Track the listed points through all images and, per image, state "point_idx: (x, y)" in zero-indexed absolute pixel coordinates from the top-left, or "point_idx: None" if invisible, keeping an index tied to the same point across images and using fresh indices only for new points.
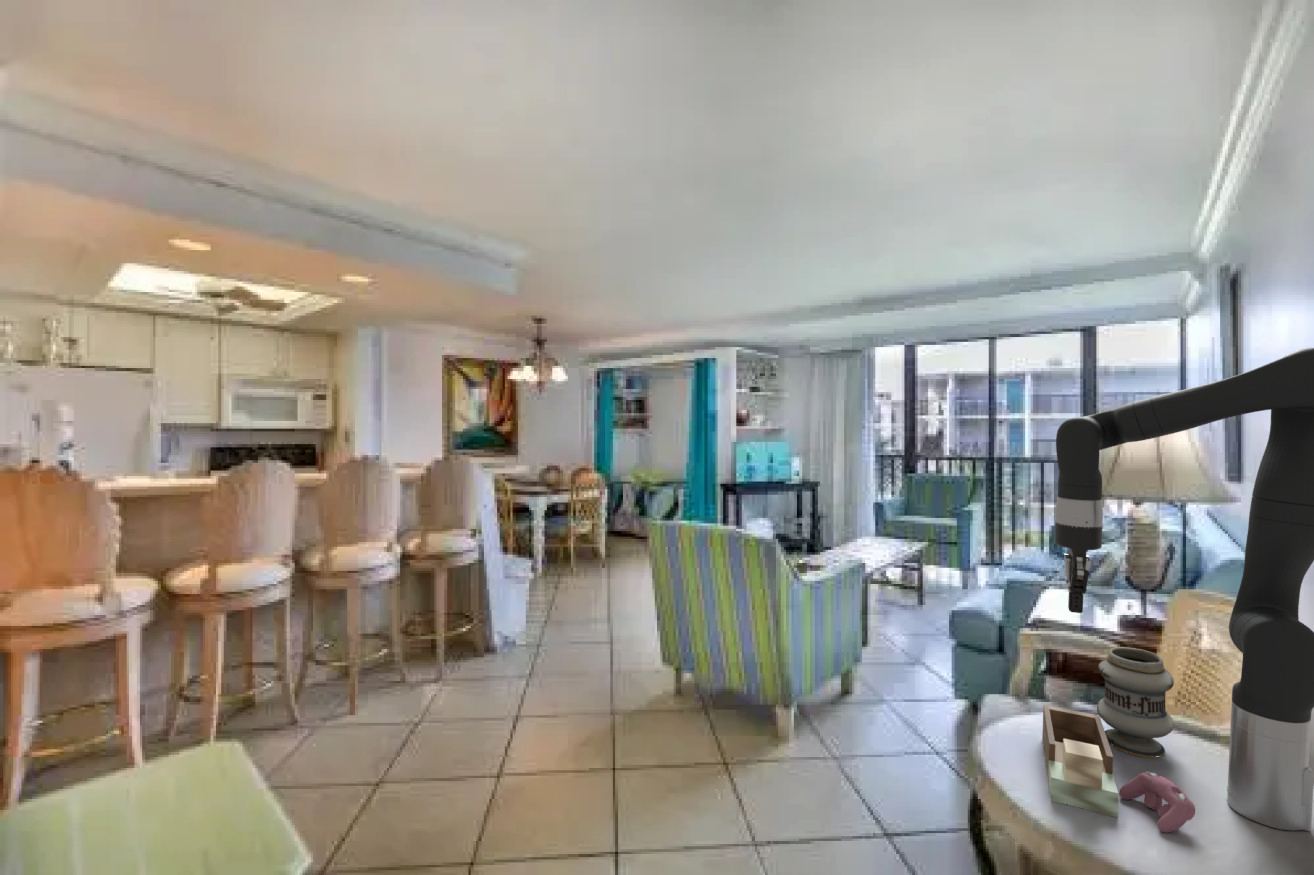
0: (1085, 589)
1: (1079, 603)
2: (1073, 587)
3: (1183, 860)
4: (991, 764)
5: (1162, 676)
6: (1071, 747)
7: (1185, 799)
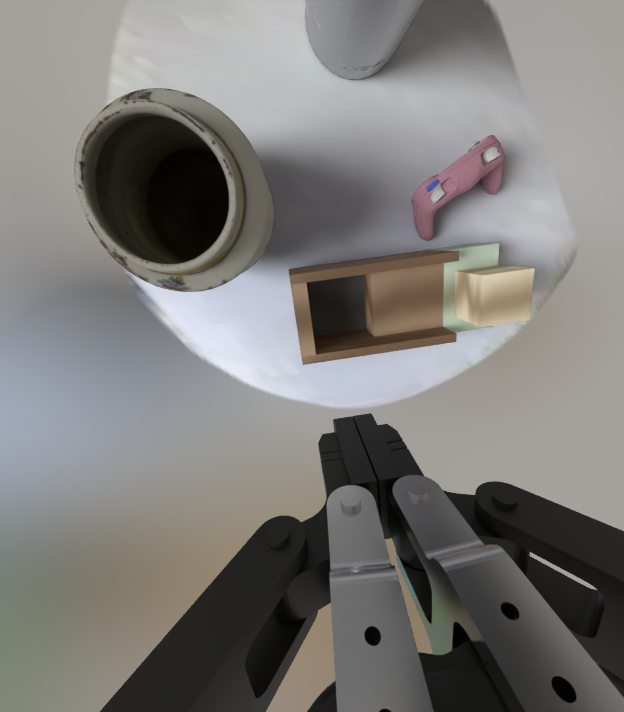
0: (556, 507)
1: (405, 452)
2: (553, 570)
3: (543, 169)
4: (416, 389)
5: (213, 120)
6: (509, 313)
7: (496, 146)
